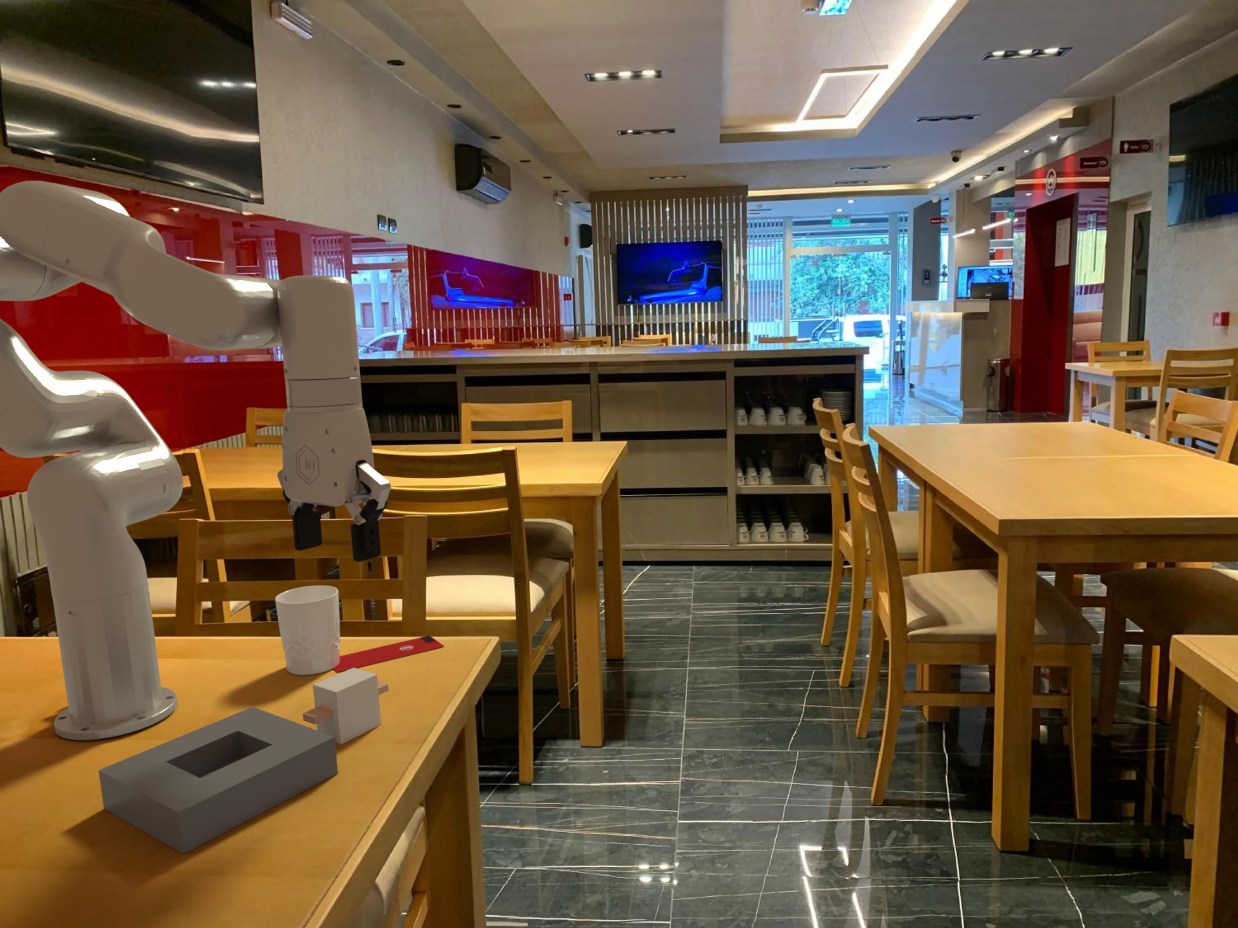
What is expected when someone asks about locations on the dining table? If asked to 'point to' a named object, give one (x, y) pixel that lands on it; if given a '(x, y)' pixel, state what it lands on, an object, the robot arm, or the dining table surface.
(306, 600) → the white cup
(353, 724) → the block
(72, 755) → the dining table surface
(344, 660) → the electronic device
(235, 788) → the block
